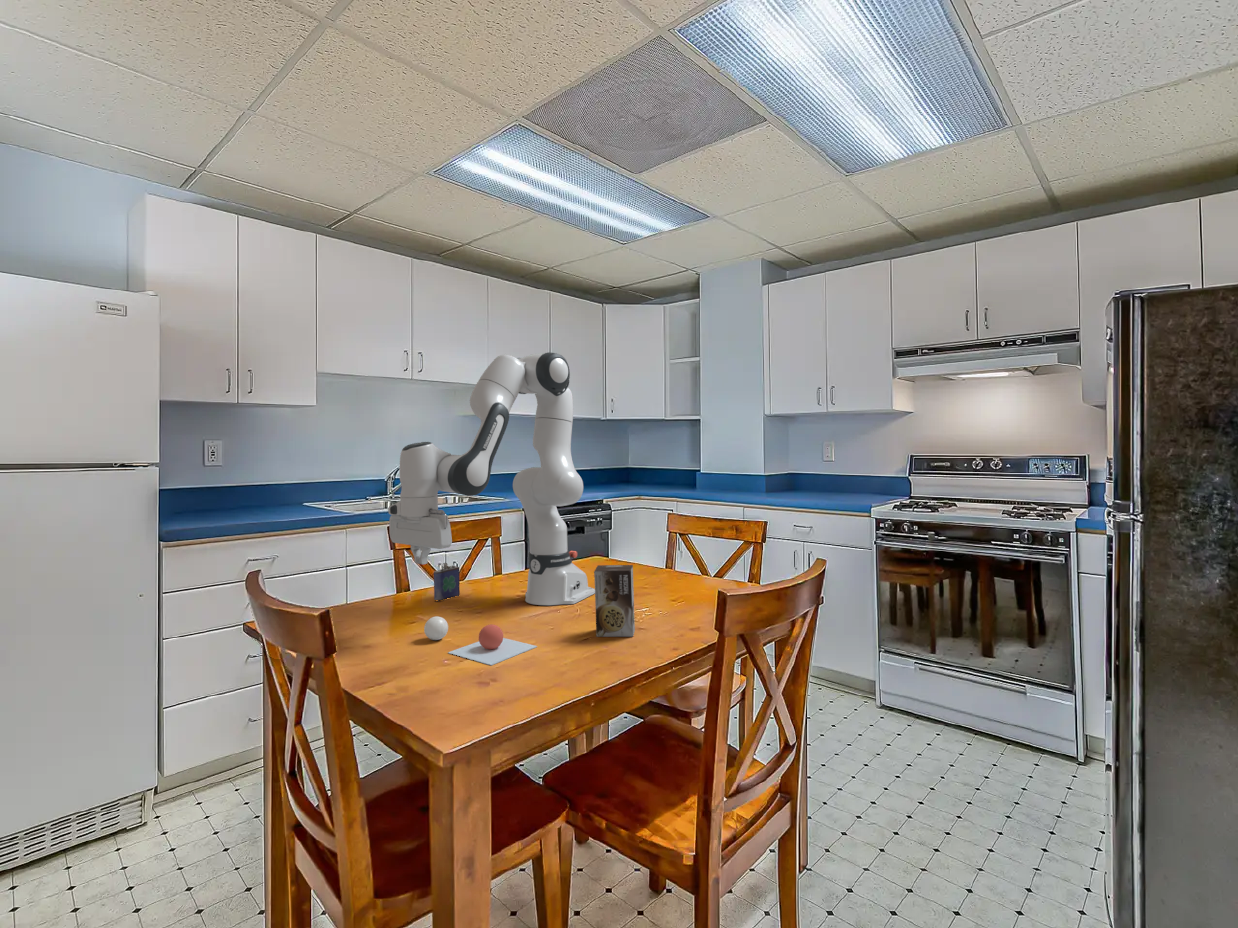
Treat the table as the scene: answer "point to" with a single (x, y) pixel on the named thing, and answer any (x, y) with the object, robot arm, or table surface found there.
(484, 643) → the object ball
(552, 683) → the table surface
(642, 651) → the table surface
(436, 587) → the flask
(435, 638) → the cue ball
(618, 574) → the coffee box
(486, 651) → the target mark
